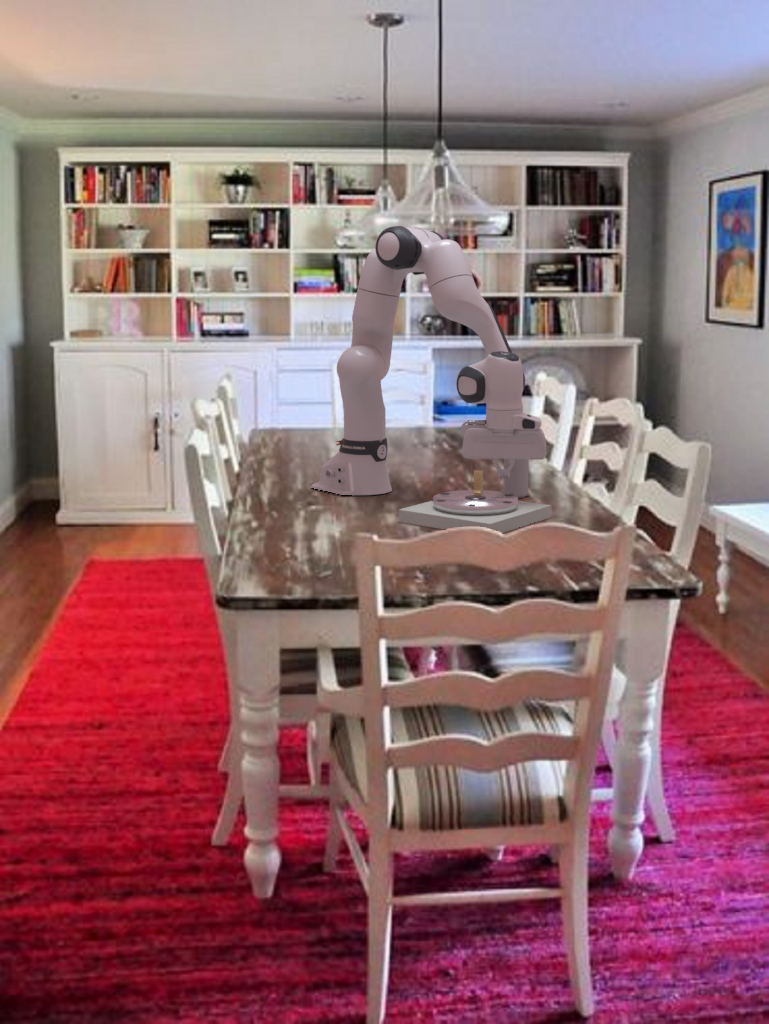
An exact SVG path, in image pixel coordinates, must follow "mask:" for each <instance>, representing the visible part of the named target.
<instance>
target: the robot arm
mask: <svg viewBox="0 0 769 1024" xmlns="http://www.w3.org/2000/svg"><path fill="white" fill-rule="evenodd" d="M467 259H468V258H467V257H466V255H465V253H464V251H463V249H462V247H461V246H460V244H459V243H458V242H457V241H455V240H452V239H448V238H447V239H446V238H445V237H444V236H443V235H442V234H440V233H439V232H436V231H433V230H428V229H425V228H421V227H411V226H402V225H395V226H389V227H387V228H385V229H383V230H382V231H380V233H379V235H378V236H377V239H376V243H375V248H374V249H373V250H371V251H370V252H369V253H368V255H367V257H366V259H365V262H364V264H363V267H362V270H361V274H360V277H359V281H358V285H357V290H356V297H355V300H354V305H353V311H352V316H351V319H352V331H351V332H352V335H351V336H352V337H351V345H350V347H349V348H347V349H345V350H344V351H343V352H342V354H341V355H340V357H339V358H338V361H337V364H336V373H337V376H338V381H339V389H340V395H341V401H342V408H343V431H344V432H343V438H342V439H341V440H336V441H335V442H336V444H335V445H336V446H339V449H338V452H337V453H336V454H335V455H334V456H332V457H331V458H330V459H329V460H327V461H326V462H325V463H324V464H322V466H321V468H320V472H319V473H320V474H319V481H316V482H314V483H312V484H311V487H310V488H314V489H313V490H315V489H318V490H317V491H320V490H323V491H322V492H324V491H328V492H332V493H336V494H335V495H337V494H341V495H352V496H372V495H373V496H374V495H382V494H387V493H390V492H392V491H393V488H392V485H391V480H390V476H389V470H388V469H389V468H388V462H387V458H388V457H387V456H388V438H387V437H386V433H387V431H386V429H387V428H386V427H387V426H386V424H387V423H386V420H387V419H386V407H385V403H384V402H385V401H384V398H383V391H382V380H383V379H385V377H386V376H387V375H388V372H389V370H390V366H391V357H392V349H393V340H394V339H393V338H394V327H395V326H394V325H395V321H396V315H397V311H398V306H399V301H400V295H401V291H402V285H403V282H404V279H405V278H406V277H407V275H409V274H411V273H412V274H413V275H415V276H417V275H425V277H426V281H427V284H428V288H429V291H430V295H431V300H432V302H433V305H434V307H435V308H436V310H437V312H438V313H439V314H440V315H441V316H442V317H444V318H445V319H448V320H450V321H453V322H455V323H458V324H461V325H463V326H465V327H467V328H469V329H471V330H472V331H473V332H475V333H476V335H478V338H479V340H480V341H481V344H482V346H483V348H484V350H485V353H486V357H485V358H484V359H482V360H480V361H479V362H476V363H473V364H470V365H467V366H464V367H462V368H461V370H460V371H459V372H458V374H457V378H456V390H457V394H458V396H459V397H460V399H461V400H462V401H463V402H465V403H467V404H471V405H479V404H480V405H481V404H485V405H486V408H485V419H479V420H477V419H476V420H473V419H468V420H467V421H465V422H463V423H462V425H461V427H460V428H461V429H460V432H461V433H460V434H461V435H460V436H462V437H461V438H463V440H462V449H461V455H462V457H463V458H464V459H465V460H468V459H470V460H480V459H481V460H483V459H484V460H493V462H492V463H493V465H494V468H495V469H496V470H497V478H504V477H505V478H510V470H511V469H512V467H513V465H514V463H515V459H529V460H539V461H540V460H544V459H545V458H546V457H547V443H546V437H545V433H544V431H543V429H542V428H541V427H542V418H540V417H538V416H534V415H532V414H528V413H525V412H524V405H523V401H522V398H523V397H522V396H523V392H524V390H525V387H526V377H525V376H526V375H525V372H524V371H523V370H524V369H523V364H522V360H521V358H520V356H519V355H517V354H516V353H513V352H512V348H511V347H510V345H509V342H508V340H507V338H506V335H505V333H504V330H503V328H502V326H501V324H500V321H499V319H498V317H497V315H496V313H495V310H494V309H493V308H492V306H491V305H490V304H489V303H488V302H487V301H486V300H485V298H484V297H483V296H482V295H481V293H480V291H479V290H478V286H477V284H476V282H475V280H474V276H473V273H472V270H471V267H470V264H469V262H468V260H467ZM504 459H509V464H510V466H509V468H508V469H504V468H503V469H502V468H501V467H500V465H499V464H500V460H504ZM328 492H327V493H328ZM332 493H331V494H332ZM341 495H340V496H341Z"/></svg>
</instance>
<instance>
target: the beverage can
mask: <svg viewBox="0 0 769 1024" xmlns="http://www.w3.org/2000/svg"><path fill="white" fill-rule="evenodd" d="M529 463H530V459H515V463H514V465H513V467H512V469H511V470H510V478H505V477H503V492H505V493H509V494H514V495H515V496H517V497H518V499H522V498H523V499H524V498H526V496H527V495H528V494H529V469H530V467H529V465H530V464H529ZM509 466H510V464H509V459H503V469H508V468H509Z"/></svg>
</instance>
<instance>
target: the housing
mask: <svg viewBox="0 0 769 1024" xmlns="http://www.w3.org/2000/svg"><path fill="white" fill-rule="evenodd" d="M550 518H552V504H546V503H538V502H531V501H524V500H523V501H522V500H518V508H517V509H516V510H514V511H511V512H507V513H501V514H491V515H464V514H453V513H447V512H443V511H439V510H437V509H435V508H434V507H433V499H432V500H429V501H425V502H422V503H418V504H415V505H414V504H413V505H410V506H408V507H403V508H399V509H398V523H401V524H409V525H414V526H415V525H416V526H420V527H426V528H433V529H440V530H444V529H447V528H453V527H463V526H480V527H487V528H490V529H494V530H496V531H500V532H502V534H504V533H507V532H510V531H514V530H516V529H520V528H523V527H526V526H529V525H533V524H534V522H535V524H537V523H539V522H541V521H545V520H548V519H550ZM538 521H539V522H538ZM530 523H531V524H530ZM519 527H520V528H519Z"/></svg>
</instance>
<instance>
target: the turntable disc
mask: <svg viewBox="0 0 769 1024" xmlns="http://www.w3.org/2000/svg"><path fill="white" fill-rule="evenodd" d="M432 500H433V507H434V508H435V509H437V510H439V511H443V512H447V513H453V514H464V515H491V514H501V513H507V512H511V511H514V510H516V509H517V508H518V501H519V498H518V497H517V496H515V495H514V494H509V493H505V492H504V491H497V490H485V489H484V470H483V469H480V470H479V469H475V470H474V471H473V489H461V490H460V489H459V490H451V491H443V492H440V493H437V494H435V495H434V496H433V498H432Z"/></svg>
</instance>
